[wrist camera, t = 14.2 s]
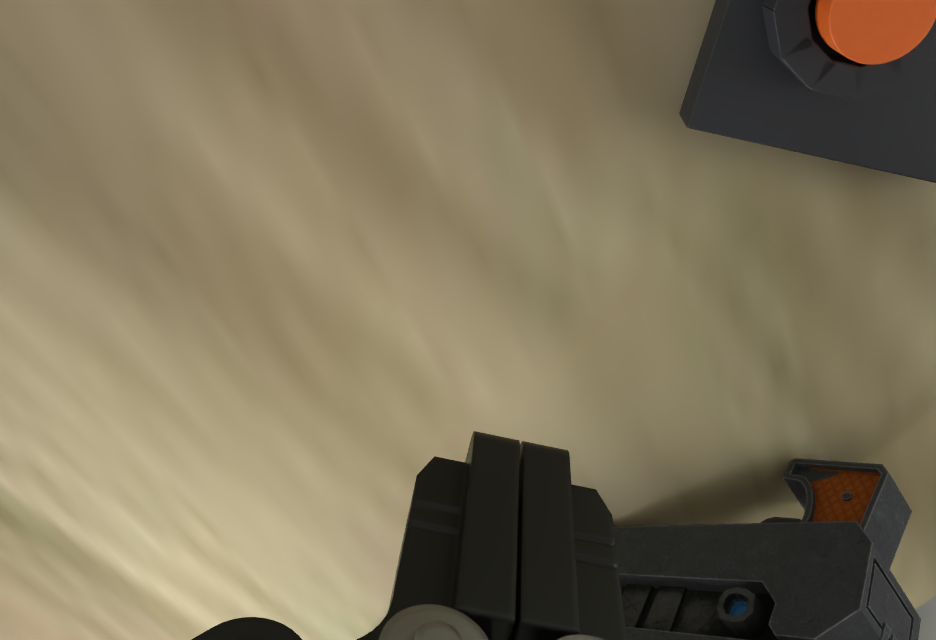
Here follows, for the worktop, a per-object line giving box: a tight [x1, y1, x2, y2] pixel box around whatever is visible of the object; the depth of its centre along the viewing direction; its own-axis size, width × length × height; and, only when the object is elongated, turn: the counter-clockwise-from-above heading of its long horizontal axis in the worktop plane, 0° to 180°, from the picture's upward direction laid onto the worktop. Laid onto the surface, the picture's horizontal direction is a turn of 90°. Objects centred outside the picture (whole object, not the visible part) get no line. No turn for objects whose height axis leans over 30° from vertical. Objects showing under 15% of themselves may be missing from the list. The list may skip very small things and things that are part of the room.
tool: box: [613, 459, 921, 640], centre depth 42 cm, size 6×19×15 cm, turn 125°
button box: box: [680, 0, 936, 183], centre depth 32 cm, size 9×12×4 cm
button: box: [815, 0, 936, 65], centre depth 29 cm, size 4×4×2 cm
